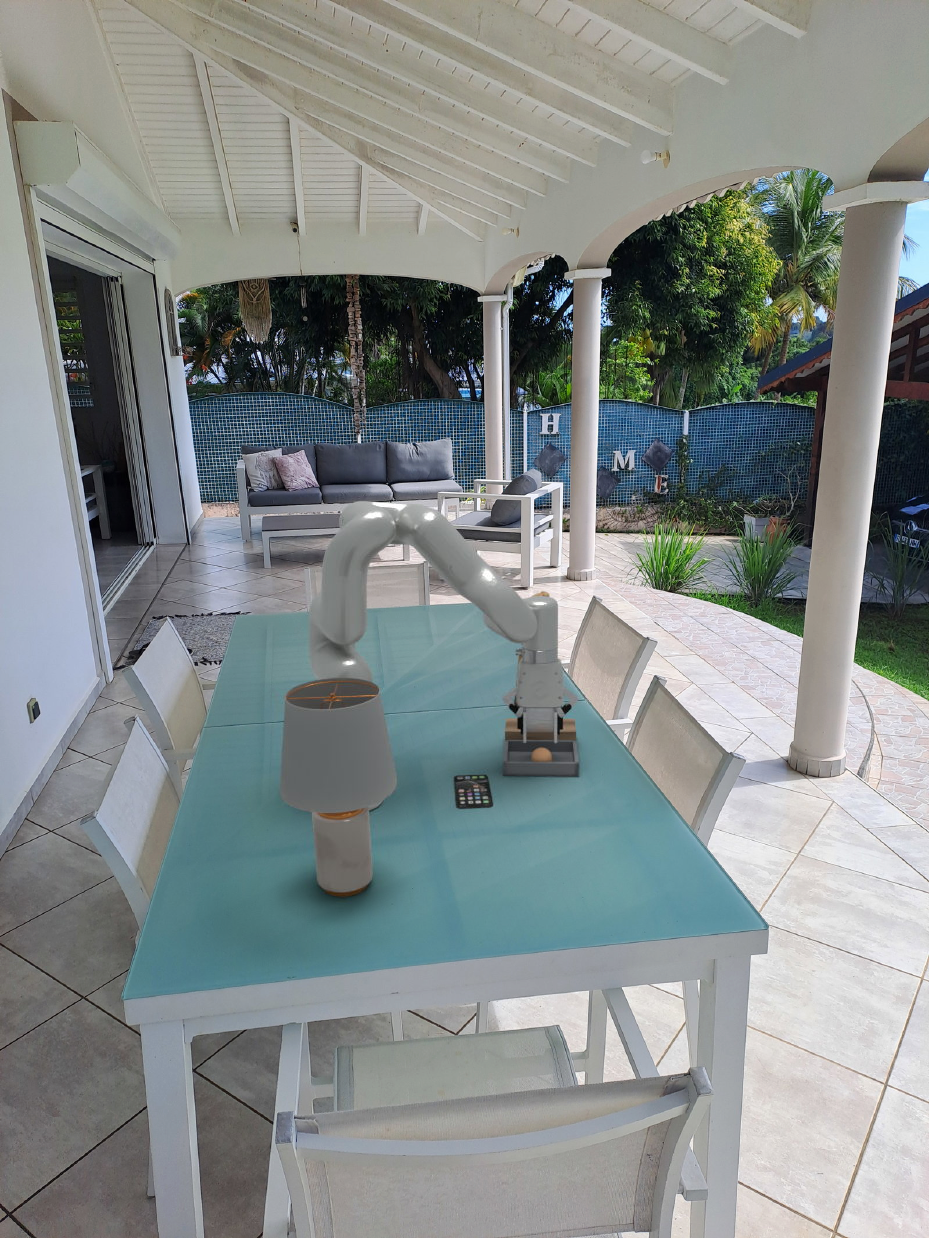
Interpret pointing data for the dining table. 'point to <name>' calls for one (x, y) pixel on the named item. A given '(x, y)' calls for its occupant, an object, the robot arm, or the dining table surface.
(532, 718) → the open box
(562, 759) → the tray
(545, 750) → the ball
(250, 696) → the dining table surface
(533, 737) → the ledge
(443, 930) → the dining table surface
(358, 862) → the lamp
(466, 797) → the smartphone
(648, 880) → the dining table surface
